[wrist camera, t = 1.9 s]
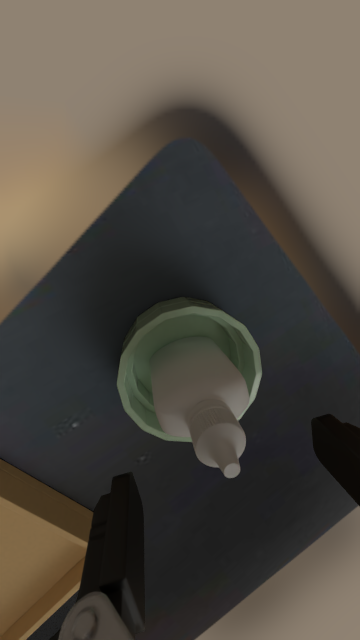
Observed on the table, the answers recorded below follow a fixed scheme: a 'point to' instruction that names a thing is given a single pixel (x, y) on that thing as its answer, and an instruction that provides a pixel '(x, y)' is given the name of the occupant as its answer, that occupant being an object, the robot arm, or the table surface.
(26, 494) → the tray
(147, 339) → the bowl
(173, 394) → the eye dropper bottle
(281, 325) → the table surface
